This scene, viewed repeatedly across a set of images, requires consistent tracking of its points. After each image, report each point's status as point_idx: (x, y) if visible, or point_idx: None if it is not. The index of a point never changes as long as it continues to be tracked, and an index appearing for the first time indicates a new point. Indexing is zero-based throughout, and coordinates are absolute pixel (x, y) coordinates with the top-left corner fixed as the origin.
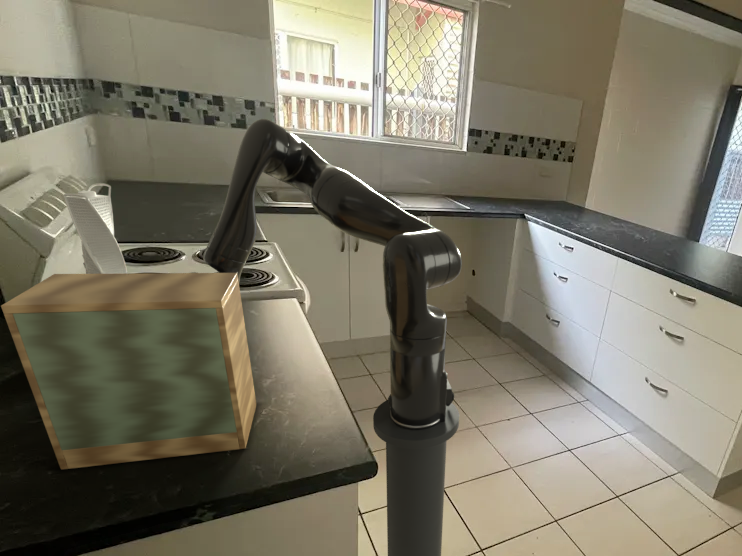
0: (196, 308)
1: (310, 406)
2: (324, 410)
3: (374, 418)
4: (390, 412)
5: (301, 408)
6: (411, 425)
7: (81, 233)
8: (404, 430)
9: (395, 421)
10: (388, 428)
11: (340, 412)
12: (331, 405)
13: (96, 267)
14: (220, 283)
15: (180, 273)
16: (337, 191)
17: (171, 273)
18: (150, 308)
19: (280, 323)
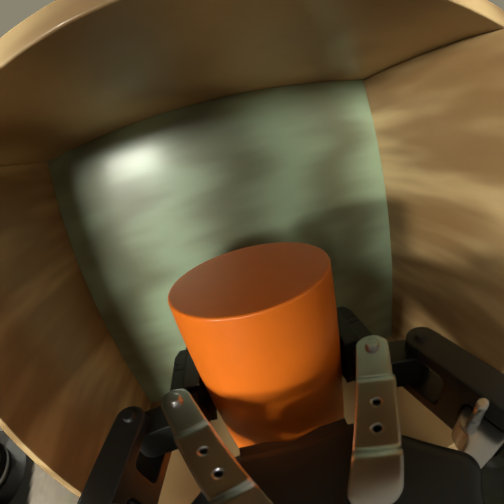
0: (78, 149)
1: (63, 501)
2: (50, 483)
3: (20, 481)
4: (3, 474)
5: (75, 500)
6: (2, 444)
7: None
8: (11, 449)
9: (8, 458)
10: (19, 458)
11: (36, 470)
12: (39, 491)
13: None
14: None
15: (16, 32)
16: None
17: (53, 5)
18: (148, 118)
19: None
